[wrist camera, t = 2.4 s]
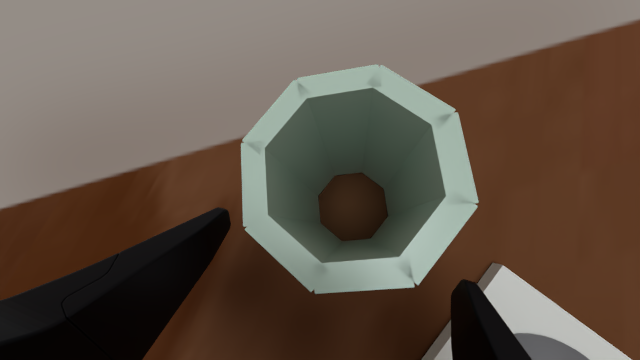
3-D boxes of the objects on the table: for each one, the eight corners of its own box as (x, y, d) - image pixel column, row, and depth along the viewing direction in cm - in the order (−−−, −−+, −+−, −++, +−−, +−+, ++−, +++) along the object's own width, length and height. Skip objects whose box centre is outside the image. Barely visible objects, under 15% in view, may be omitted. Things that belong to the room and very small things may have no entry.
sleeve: (359, 270, 18) (370, 348, 6) (292, 212, 20) (200, 188, 8) (415, 199, 18) (521, 148, 7) (345, 147, 20) (332, 35, 8)
